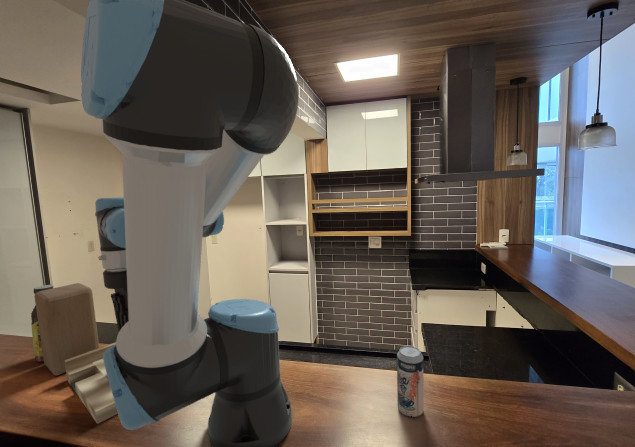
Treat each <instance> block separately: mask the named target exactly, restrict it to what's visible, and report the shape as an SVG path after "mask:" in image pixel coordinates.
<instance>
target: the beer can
mask: <svg viewBox="0 0 635 447" xmlns="http://www.w3.org/2000/svg"><path fill="white" fill-rule="evenodd" d="M398 350H399V351H397V354H396V380H397V381H396V386H397V388H396V391H397V393H396V394H397V396H396V398H397V400H396V401H397V409H398V411H399V412H401V414H402V415H404V416H407V417H411V416H412V417H413V418H415V417H419V416H421V415H423V412H424V356H423V354H422V352H421V350H420V349H419V348H418V347H415V346H410V345H405V346H401V347H400V349H398Z"/></svg>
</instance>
